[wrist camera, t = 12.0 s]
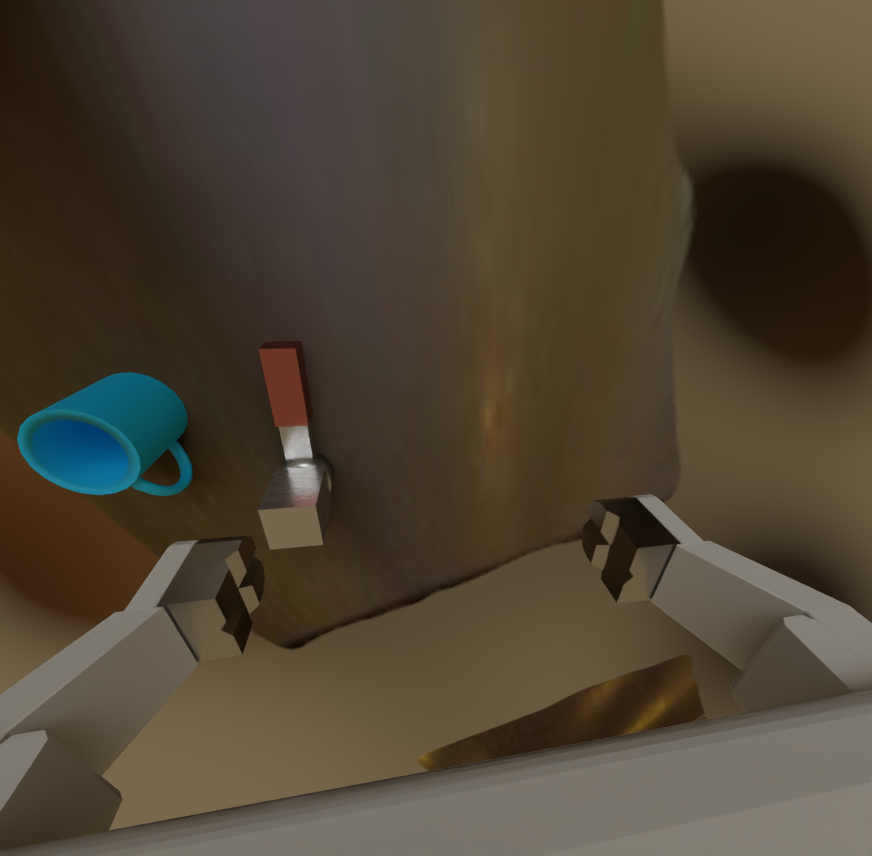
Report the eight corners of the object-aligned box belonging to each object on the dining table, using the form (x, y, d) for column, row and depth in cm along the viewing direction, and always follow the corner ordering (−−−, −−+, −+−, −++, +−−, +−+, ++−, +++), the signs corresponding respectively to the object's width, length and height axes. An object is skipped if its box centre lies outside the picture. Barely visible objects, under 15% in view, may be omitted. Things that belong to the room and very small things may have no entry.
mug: (72, 398, 34) (-10, 442, 27) (137, 356, 33) (69, 390, 26) (176, 481, 39) (130, 535, 32) (233, 447, 38) (200, 495, 31)
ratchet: (250, 341, 33) (224, 363, 28) (315, 341, 34) (302, 361, 28) (285, 493, 42) (270, 533, 37) (336, 490, 43) (329, 529, 37)
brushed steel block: (276, 468, 37) (258, 510, 31) (325, 464, 38) (315, 505, 32) (286, 504, 39) (270, 549, 34) (331, 501, 40) (323, 544, 34)
